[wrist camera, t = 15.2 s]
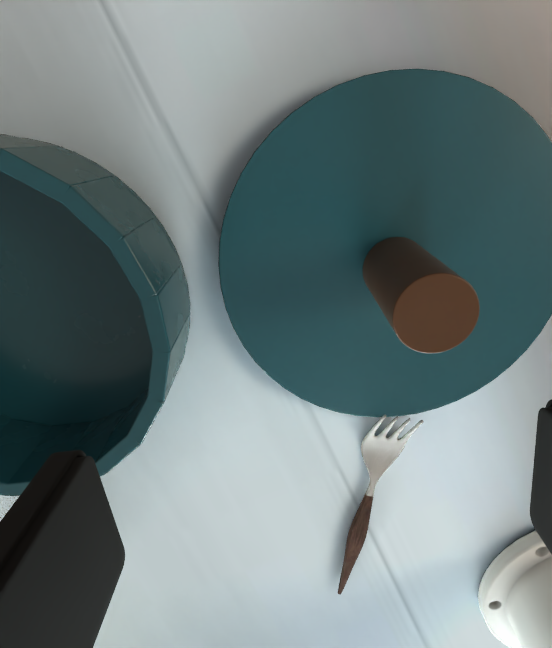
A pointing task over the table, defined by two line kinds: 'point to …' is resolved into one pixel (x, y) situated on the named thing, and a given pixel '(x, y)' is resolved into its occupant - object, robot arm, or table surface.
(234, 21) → the table surface
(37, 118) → the table surface
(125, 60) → the table surface
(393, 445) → the fork
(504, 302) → the lid
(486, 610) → the robot arm
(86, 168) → the pot
